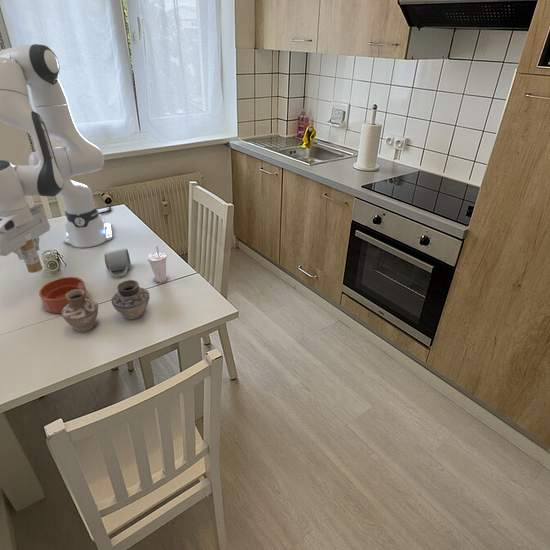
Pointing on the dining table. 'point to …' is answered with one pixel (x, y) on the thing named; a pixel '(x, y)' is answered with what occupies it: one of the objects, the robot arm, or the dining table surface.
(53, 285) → the bowl
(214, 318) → the dining table surface
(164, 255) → the smoothie
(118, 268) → the ceramic mug
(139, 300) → the pottery
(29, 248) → the sprinkles bottle
